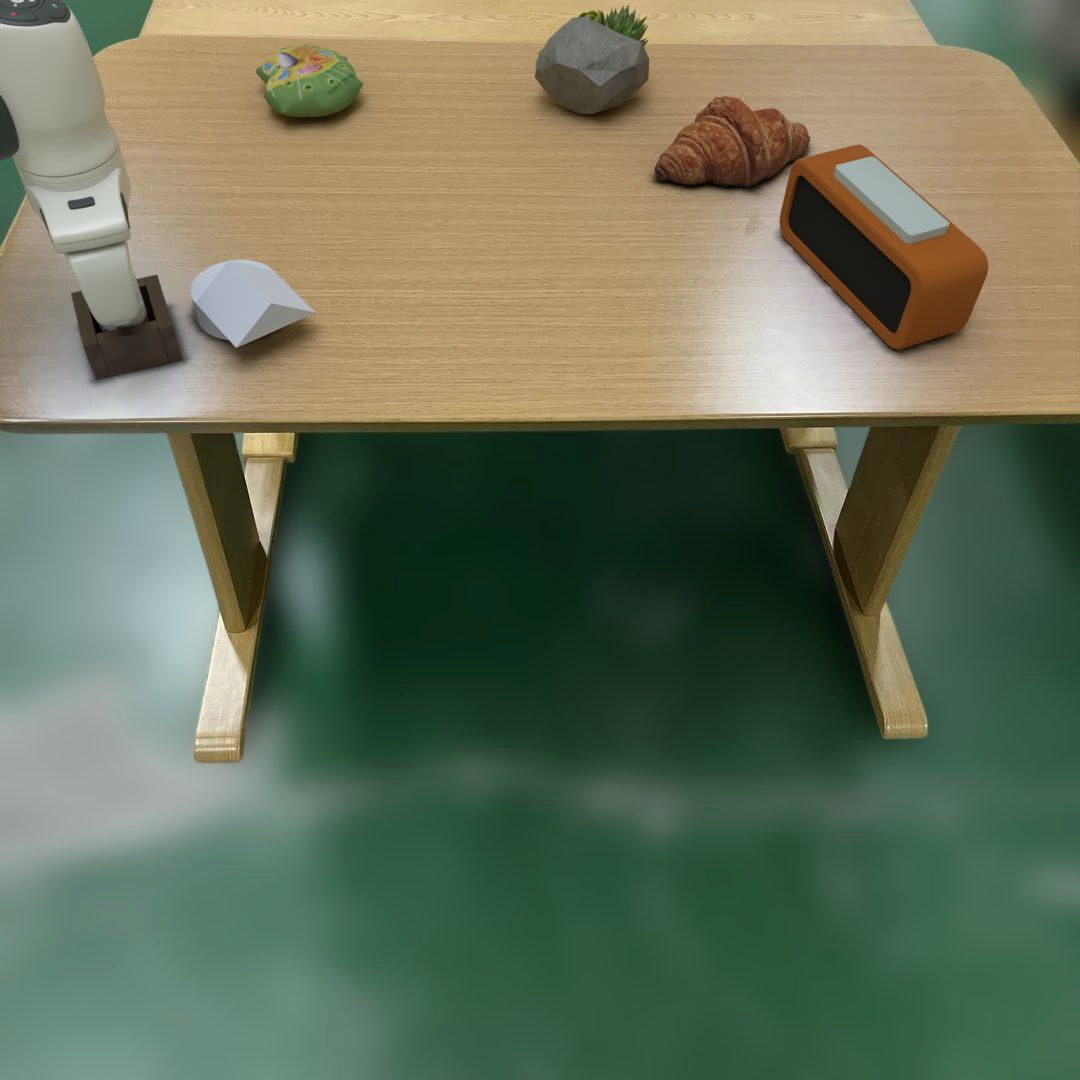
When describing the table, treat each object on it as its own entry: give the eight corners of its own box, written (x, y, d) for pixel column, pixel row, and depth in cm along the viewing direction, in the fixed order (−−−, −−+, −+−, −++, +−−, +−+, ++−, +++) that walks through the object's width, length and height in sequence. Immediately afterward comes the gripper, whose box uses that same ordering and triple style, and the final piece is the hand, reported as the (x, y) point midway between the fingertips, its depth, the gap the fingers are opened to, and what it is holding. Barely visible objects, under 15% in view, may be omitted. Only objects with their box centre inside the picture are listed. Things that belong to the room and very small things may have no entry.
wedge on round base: (319, 338, 115) (257, 275, 121) (311, 285, 110) (246, 222, 116) (242, 373, 111) (182, 306, 117) (229, 321, 106) (167, 253, 112)
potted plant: (513, 75, 143) (574, 1, 147) (582, 148, 147) (639, 74, 152) (557, 34, 132) (621, -45, 137) (630, 114, 137) (690, 35, 141)
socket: (96, 380, 110) (82, 345, 107) (83, 327, 115) (70, 292, 111) (183, 359, 112) (172, 325, 109) (167, 308, 117) (157, 274, 114)
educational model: (345, 61, 151) (341, 21, 147) (374, 121, 141) (370, 81, 137) (252, 75, 148) (245, 35, 144) (275, 137, 138) (268, 96, 134)
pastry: (698, 115, 144) (706, 56, 138) (811, 145, 140) (826, 85, 134) (650, 181, 135) (657, 120, 128) (771, 215, 131) (785, 154, 124)
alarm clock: (774, 230, 129) (795, 142, 120) (834, 214, 131) (858, 126, 122) (898, 358, 115) (931, 269, 106) (962, 338, 118) (999, 248, 109)
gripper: (25, 125, 104) (69, 248, 115) (53, 250, 92) (99, 374, 103) (94, 113, 106) (131, 235, 116) (130, 234, 94) (167, 358, 105)
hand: (116, 301), depth 109 cm, fingers closed on pill bottle, 5 cm apart
